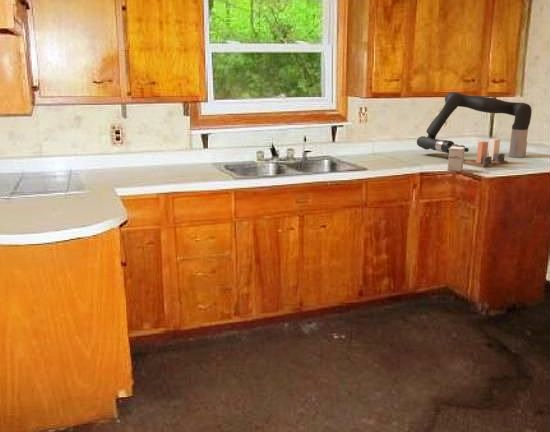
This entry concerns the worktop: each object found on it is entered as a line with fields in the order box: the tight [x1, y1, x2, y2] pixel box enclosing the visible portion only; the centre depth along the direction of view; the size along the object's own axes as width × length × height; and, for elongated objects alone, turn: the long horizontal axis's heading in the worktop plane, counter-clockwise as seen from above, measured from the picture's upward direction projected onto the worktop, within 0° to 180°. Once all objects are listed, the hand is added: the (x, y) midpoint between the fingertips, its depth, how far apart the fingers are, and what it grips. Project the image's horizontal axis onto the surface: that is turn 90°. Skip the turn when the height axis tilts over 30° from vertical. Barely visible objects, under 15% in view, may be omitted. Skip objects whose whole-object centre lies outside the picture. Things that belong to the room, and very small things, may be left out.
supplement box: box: [447, 146, 466, 172], centre depth 297 cm, size 7×7×13 cm
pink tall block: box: [475, 140, 489, 163], centre depth 307 cm, size 5×3×12 cm, turn 121°
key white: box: [488, 138, 501, 160], centre depth 316 cm, size 5×3×12 cm, turn 121°
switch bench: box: [463, 153, 509, 168], centre depth 314 cm, size 22×14×6 cm, turn 121°
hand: (467, 150), depth 315 cm, fingers closed
